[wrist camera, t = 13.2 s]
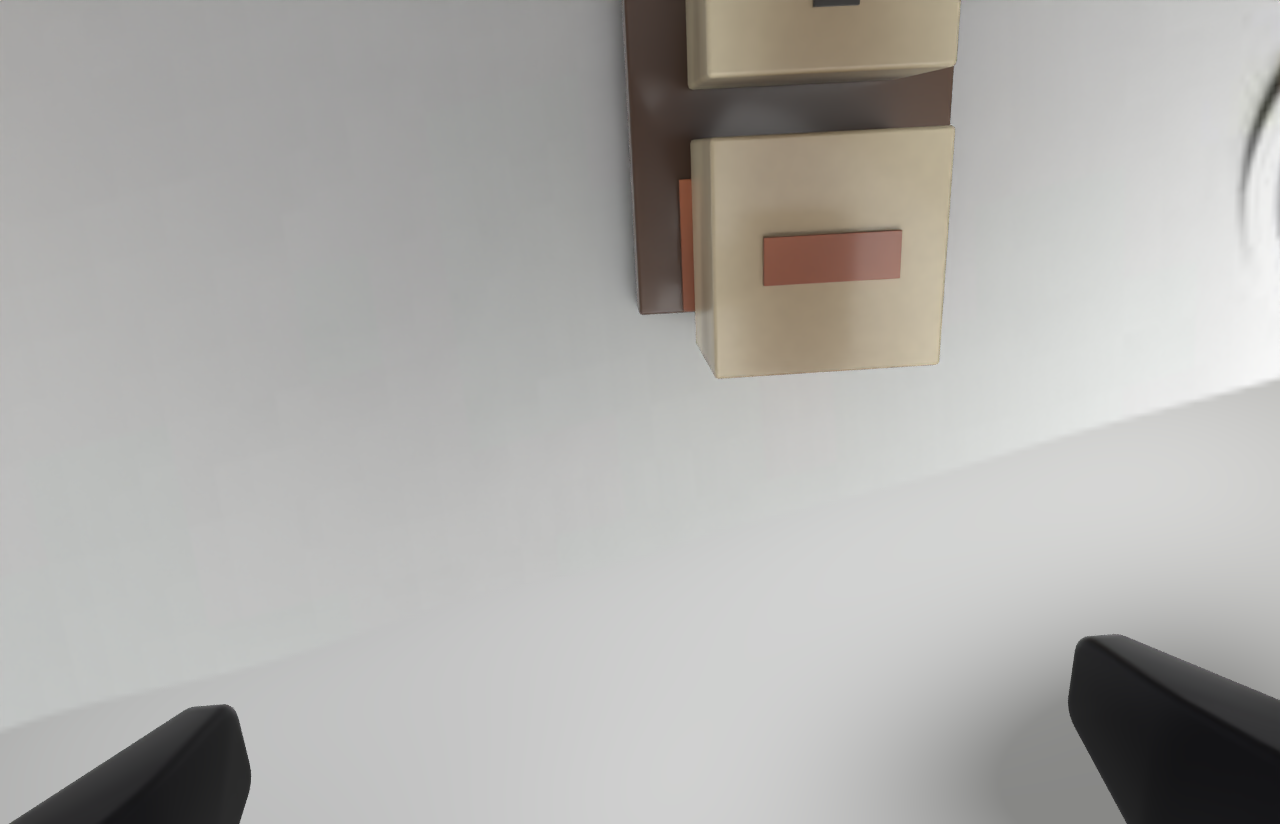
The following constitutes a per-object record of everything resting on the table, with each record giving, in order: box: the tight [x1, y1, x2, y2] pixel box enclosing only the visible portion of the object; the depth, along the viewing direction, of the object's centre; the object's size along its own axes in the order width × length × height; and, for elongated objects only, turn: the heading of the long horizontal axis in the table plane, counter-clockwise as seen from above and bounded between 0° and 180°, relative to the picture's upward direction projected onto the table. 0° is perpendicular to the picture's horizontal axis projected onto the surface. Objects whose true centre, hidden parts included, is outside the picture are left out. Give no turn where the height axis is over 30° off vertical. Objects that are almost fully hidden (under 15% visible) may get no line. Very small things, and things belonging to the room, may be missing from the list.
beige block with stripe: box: [690, 125, 955, 379], centre depth 17 cm, size 4×4×3 cm
